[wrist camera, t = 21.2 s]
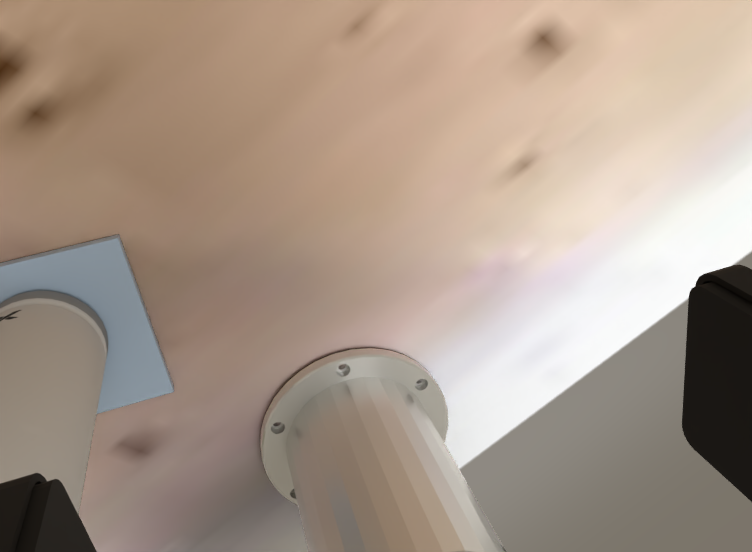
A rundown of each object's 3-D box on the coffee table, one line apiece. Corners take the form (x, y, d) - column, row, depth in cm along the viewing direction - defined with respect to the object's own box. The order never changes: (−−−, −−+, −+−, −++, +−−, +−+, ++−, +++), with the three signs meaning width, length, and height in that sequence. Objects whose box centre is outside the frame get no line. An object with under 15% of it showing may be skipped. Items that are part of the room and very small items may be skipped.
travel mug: (-21, 278, 34) (-231, 604, 16) (117, 298, 36) (62, 603, 19) (-32, 383, 36) (-230, 774, 18) (99, 395, 38) (35, 754, 21)
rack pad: (174, 386, 40) (173, 391, 39) (-1, 436, 38) (-4, 442, 38) (118, 234, 35) (117, 238, 35) (-82, 282, 34) (-86, 287, 33)
